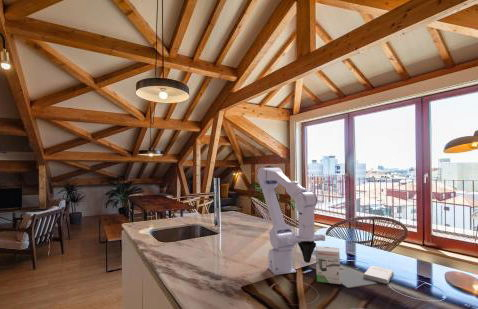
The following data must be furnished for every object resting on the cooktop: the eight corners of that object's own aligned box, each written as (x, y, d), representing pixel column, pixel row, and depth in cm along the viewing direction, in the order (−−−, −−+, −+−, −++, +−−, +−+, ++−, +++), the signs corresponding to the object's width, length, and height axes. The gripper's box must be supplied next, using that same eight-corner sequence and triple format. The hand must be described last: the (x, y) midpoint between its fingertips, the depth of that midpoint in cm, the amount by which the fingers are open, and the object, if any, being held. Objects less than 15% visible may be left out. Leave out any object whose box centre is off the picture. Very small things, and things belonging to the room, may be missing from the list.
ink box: (316, 282, 97) (314, 250, 98) (317, 276, 102) (315, 245, 102) (341, 284, 94) (339, 251, 95) (340, 278, 99) (339, 247, 99)
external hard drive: (363, 278, 100) (371, 268, 109) (387, 284, 94) (393, 273, 104) (363, 273, 100) (371, 264, 109) (387, 279, 94) (393, 269, 104)
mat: (347, 288, 92) (347, 287, 92) (324, 272, 106) (324, 271, 106) (377, 283, 96) (377, 283, 96) (351, 269, 109) (351, 268, 109)
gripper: (293, 228, 91) (294, 267, 90) (329, 225, 95) (330, 263, 94) (284, 223, 98) (285, 260, 97) (319, 221, 102) (319, 257, 101)
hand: (306, 261), depth 96 cm, fingers closed
